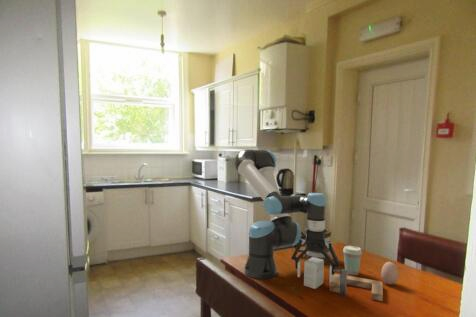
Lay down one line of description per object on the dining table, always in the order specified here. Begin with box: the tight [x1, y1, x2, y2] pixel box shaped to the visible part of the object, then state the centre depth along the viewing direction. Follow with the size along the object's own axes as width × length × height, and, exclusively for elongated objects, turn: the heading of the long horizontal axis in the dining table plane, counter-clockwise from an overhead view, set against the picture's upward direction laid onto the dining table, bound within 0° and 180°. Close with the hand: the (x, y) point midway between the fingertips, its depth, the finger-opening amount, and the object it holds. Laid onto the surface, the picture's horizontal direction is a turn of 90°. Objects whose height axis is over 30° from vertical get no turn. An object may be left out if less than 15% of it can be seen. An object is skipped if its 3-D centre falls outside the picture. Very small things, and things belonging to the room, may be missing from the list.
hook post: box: [333, 268, 348, 298], centre depth 126 cm, size 5×2×10 cm, turn 66°
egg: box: [380, 261, 399, 286], centre depth 137 cm, size 7×7×10 cm
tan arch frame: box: [328, 273, 384, 302], centre depth 131 cm, size 20×14×2 cm
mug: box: [293, 228, 332, 263], centre depth 170 cm, size 20×14×15 cm
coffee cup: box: [342, 245, 363, 276], centre depth 149 cm, size 9×8×12 cm
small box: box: [303, 257, 325, 290], centre depth 135 cm, size 8×6×10 cm
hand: (314, 278), depth 134 cm, fingers open, 13 cm apart
